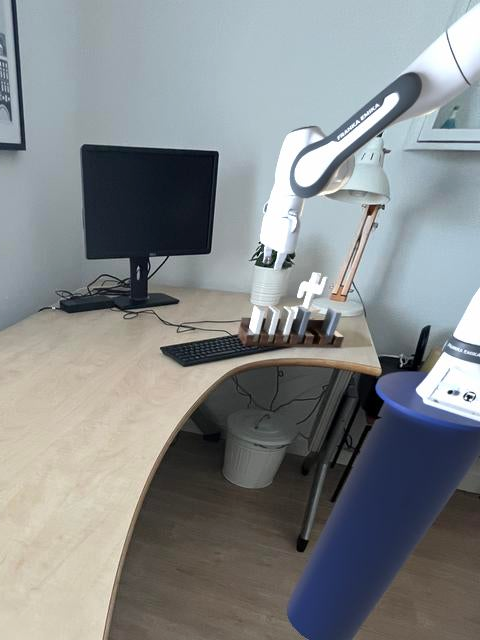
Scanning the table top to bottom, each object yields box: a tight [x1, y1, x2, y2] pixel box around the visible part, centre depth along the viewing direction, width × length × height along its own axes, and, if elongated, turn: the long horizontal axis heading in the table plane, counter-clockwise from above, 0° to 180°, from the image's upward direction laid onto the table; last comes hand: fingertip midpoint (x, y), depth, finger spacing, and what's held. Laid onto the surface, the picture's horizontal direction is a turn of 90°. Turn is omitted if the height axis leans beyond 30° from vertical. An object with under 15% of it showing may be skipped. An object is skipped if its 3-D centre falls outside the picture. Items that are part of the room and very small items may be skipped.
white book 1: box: [249, 305, 266, 342], centre depth 134 cm, size 6×2×9 cm, turn 0°
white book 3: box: [278, 305, 296, 342], centre depth 134 cm, size 6×2×9 cm, turn 0°
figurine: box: [290, 271, 330, 319], centre depth 153 cm, size 7×9×15 cm
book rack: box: [237, 317, 345, 349], centre depth 136 cm, size 9×30×6 cm, turn 90°
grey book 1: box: [292, 305, 311, 343], centre depth 134 cm, size 6×2×9 cm, turn 0°
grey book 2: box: [321, 306, 342, 343], centre depth 135 cm, size 6×2×9 cm, turn 0°
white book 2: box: [263, 305, 281, 342], centre depth 134 cm, size 6×2×9 cm, turn 0°
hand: (271, 266), depth 124 cm, fingers open, 8 cm apart
